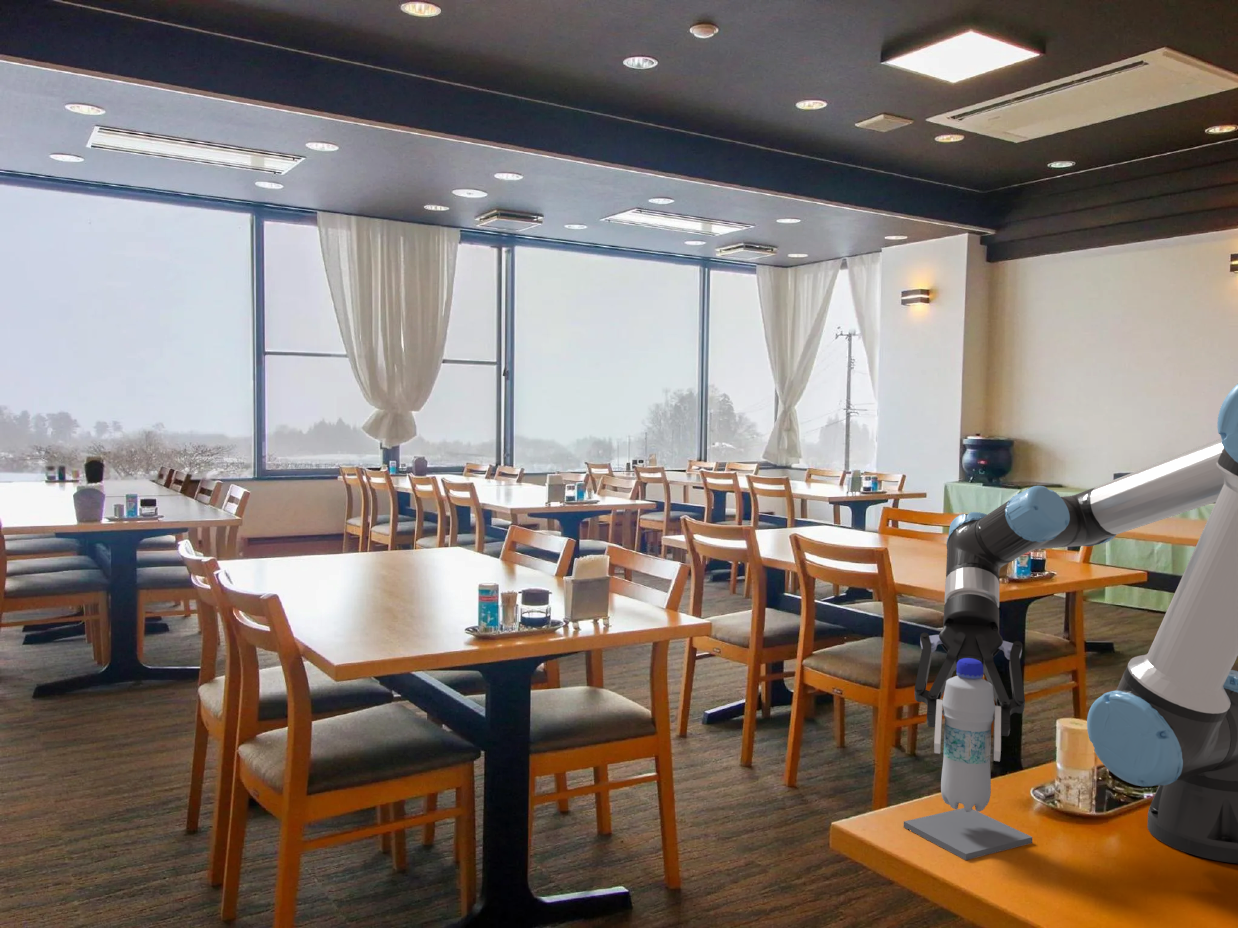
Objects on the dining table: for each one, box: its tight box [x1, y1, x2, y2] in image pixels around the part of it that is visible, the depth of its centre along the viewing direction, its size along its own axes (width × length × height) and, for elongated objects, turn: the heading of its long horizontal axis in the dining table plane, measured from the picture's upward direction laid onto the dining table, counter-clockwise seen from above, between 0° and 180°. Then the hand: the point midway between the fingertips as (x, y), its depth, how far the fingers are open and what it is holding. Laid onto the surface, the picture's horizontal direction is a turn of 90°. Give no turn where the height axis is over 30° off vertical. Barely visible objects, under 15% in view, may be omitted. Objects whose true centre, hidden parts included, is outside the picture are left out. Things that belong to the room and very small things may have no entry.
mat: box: [903, 807, 1033, 861], centre depth 130 cm, size 11×12×1 cm
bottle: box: [940, 658, 996, 812], centre depth 130 cm, size 7×7×20 cm
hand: (966, 751), depth 126 cm, fingers closed on bottle, 7 cm apart
